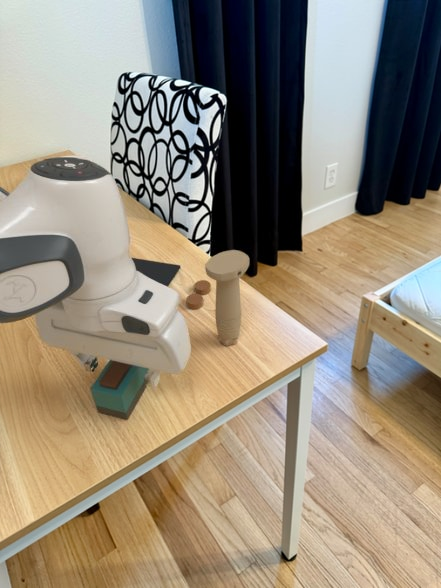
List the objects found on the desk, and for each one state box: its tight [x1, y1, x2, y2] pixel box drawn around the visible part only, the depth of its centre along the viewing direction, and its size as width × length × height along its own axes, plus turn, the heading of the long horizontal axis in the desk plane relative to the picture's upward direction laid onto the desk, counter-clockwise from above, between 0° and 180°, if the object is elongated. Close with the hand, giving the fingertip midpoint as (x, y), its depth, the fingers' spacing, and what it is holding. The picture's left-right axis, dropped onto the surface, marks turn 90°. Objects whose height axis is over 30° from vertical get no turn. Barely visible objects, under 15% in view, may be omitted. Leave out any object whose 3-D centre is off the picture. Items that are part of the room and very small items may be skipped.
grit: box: [193, 279, 212, 296], centre depth 79 cm, size 3×3×1 cm
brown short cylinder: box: [185, 293, 204, 310], centre depth 76 cm, size 3×3×1 cm
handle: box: [204, 249, 250, 347], centre depth 64 cm, size 5×6×15 cm
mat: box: [131, 257, 181, 287], centre depth 82 cm, size 24×16×1 cm, turn 73°
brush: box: [90, 360, 148, 421], centre depth 59 cm, size 4×9×6 cm, turn 163°
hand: (121, 375), depth 59 cm, fingers open, 8 cm apart
